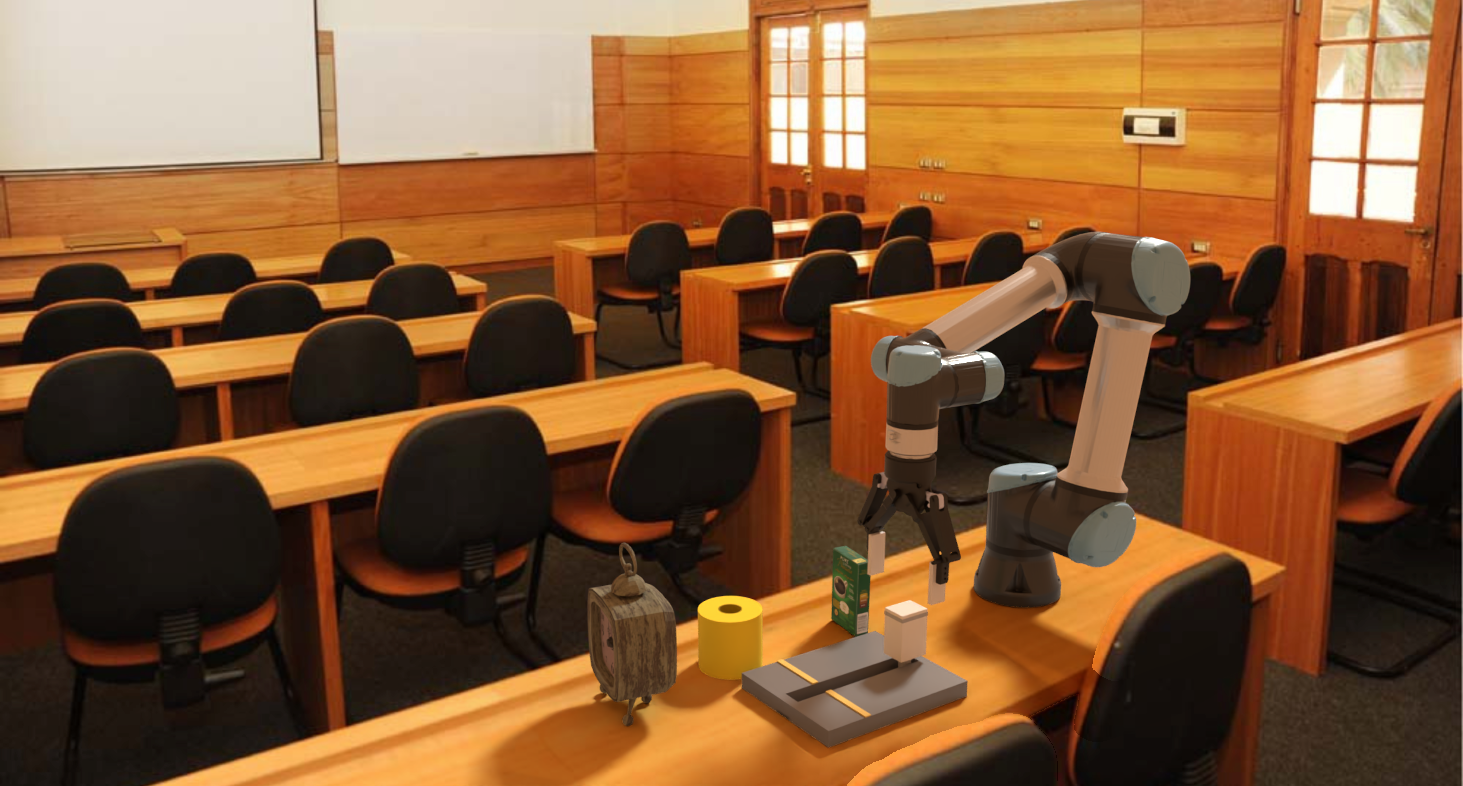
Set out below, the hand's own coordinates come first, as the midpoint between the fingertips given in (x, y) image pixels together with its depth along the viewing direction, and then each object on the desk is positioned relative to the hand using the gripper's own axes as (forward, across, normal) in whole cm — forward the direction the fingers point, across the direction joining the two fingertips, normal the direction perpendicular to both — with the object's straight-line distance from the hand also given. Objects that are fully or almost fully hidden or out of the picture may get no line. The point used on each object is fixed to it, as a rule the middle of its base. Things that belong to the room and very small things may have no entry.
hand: (905, 587), depth 190 cm
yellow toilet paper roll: (+15, -18, -19) cm, 30 cm away
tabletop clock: (+15, -15, -38) cm, 44 cm away
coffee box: (+15, -18, +5) cm, 24 cm away
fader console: (+14, 0, -9) cm, 17 cm away
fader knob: (+14, 0, +1) cm, 14 cm away
